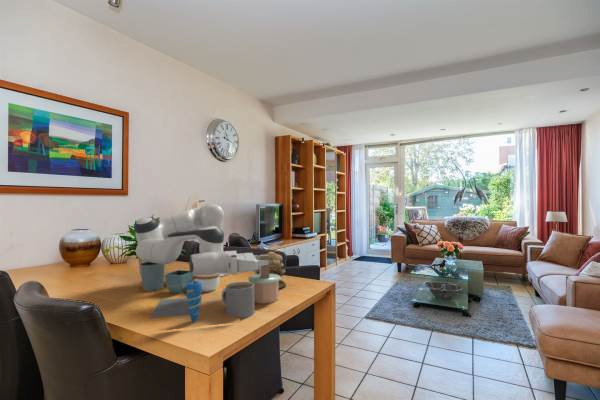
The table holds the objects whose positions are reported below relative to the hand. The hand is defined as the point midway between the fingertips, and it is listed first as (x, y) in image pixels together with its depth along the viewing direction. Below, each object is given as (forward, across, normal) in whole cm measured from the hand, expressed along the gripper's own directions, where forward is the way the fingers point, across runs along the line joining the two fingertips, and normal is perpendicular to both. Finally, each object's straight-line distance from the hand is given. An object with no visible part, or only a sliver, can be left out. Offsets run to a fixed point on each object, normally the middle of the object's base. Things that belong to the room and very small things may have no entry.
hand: (266, 260), depth 124 cm
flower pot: (-36, -20, -16) cm, 44 cm away
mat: (-34, +1, -16) cm, 37 cm away
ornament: (-27, +18, -16) cm, 36 cm away
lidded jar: (-24, -19, -16) cm, 35 cm away
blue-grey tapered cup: (-49, -31, -16) cm, 60 cm away
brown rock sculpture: (+4, -16, -16) cm, 23 cm away
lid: (-1, 0, -8) cm, 8 cm away
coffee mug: (-12, +12, -16) cm, 24 cm away
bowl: (-1, 0, -16) cm, 16 cm away
